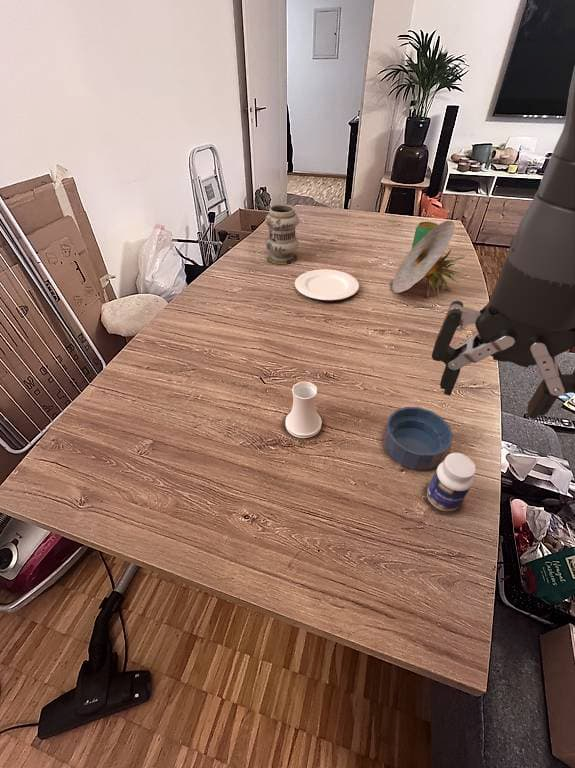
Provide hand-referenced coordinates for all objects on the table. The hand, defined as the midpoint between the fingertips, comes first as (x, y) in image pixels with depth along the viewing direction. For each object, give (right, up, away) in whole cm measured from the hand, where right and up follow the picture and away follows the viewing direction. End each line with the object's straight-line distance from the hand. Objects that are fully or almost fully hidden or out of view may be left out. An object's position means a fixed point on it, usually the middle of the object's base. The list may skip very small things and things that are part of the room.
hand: (488, 401), depth 41 cm
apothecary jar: (-24, +49, +99) cm, 113 cm away
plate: (-9, +33, +81) cm, 88 cm away
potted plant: (+22, +32, +80) cm, 89 cm away
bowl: (+3, -10, +33) cm, 35 cm away
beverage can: (+28, +49, +99) cm, 113 cm away
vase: (-19, -7, +38) cm, 43 cm away
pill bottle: (+5, -18, +25) cm, 31 cm away
